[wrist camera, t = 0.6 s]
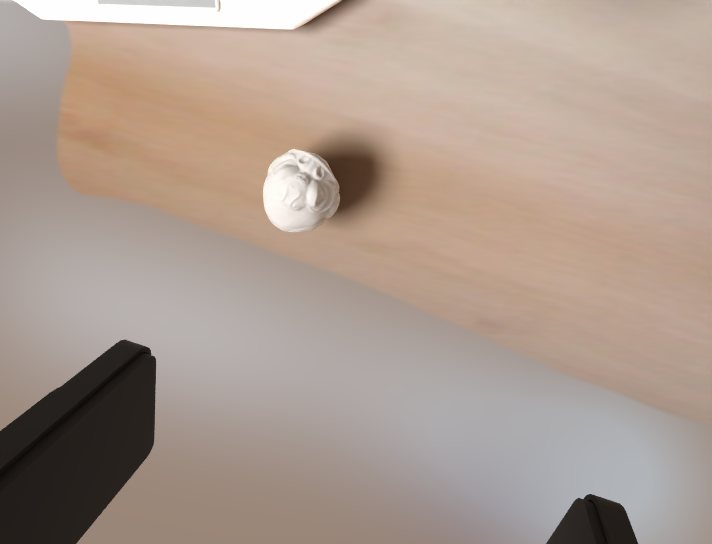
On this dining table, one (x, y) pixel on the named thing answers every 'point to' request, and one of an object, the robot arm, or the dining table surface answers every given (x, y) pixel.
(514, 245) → the dining table surface
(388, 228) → the dining table surface
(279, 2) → the laptop
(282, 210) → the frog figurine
